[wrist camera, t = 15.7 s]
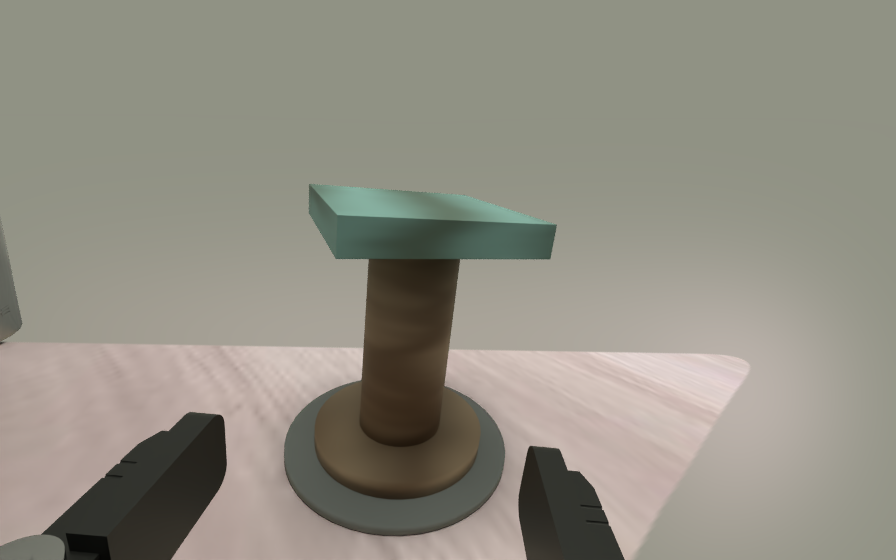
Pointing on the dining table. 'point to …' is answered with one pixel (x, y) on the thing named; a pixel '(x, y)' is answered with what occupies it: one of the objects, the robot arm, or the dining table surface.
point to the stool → (409, 333)
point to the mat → (390, 513)
